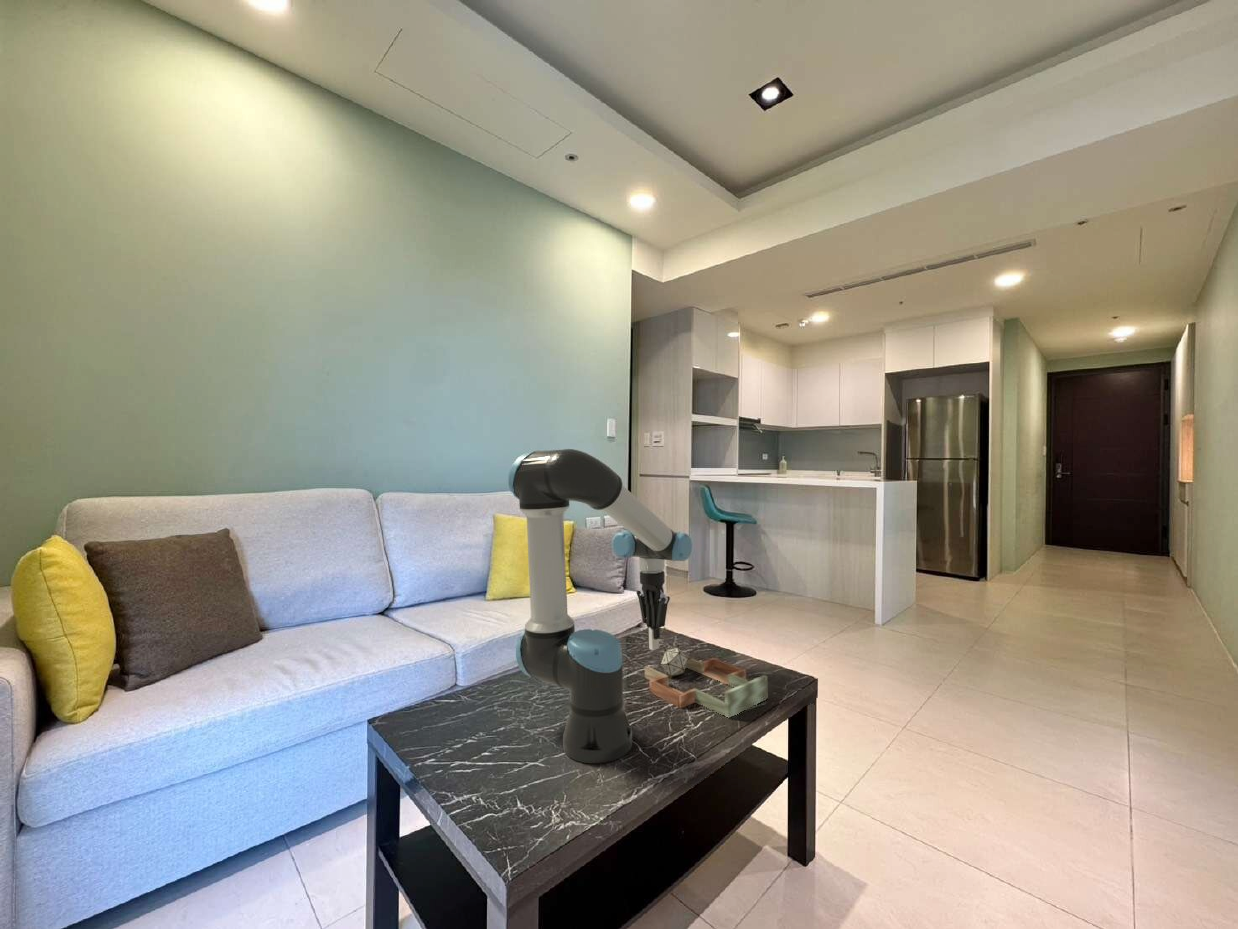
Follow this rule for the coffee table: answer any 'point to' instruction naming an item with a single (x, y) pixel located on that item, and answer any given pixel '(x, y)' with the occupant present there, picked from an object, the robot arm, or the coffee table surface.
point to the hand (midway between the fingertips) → (654, 648)
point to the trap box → (735, 698)
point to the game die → (674, 661)
